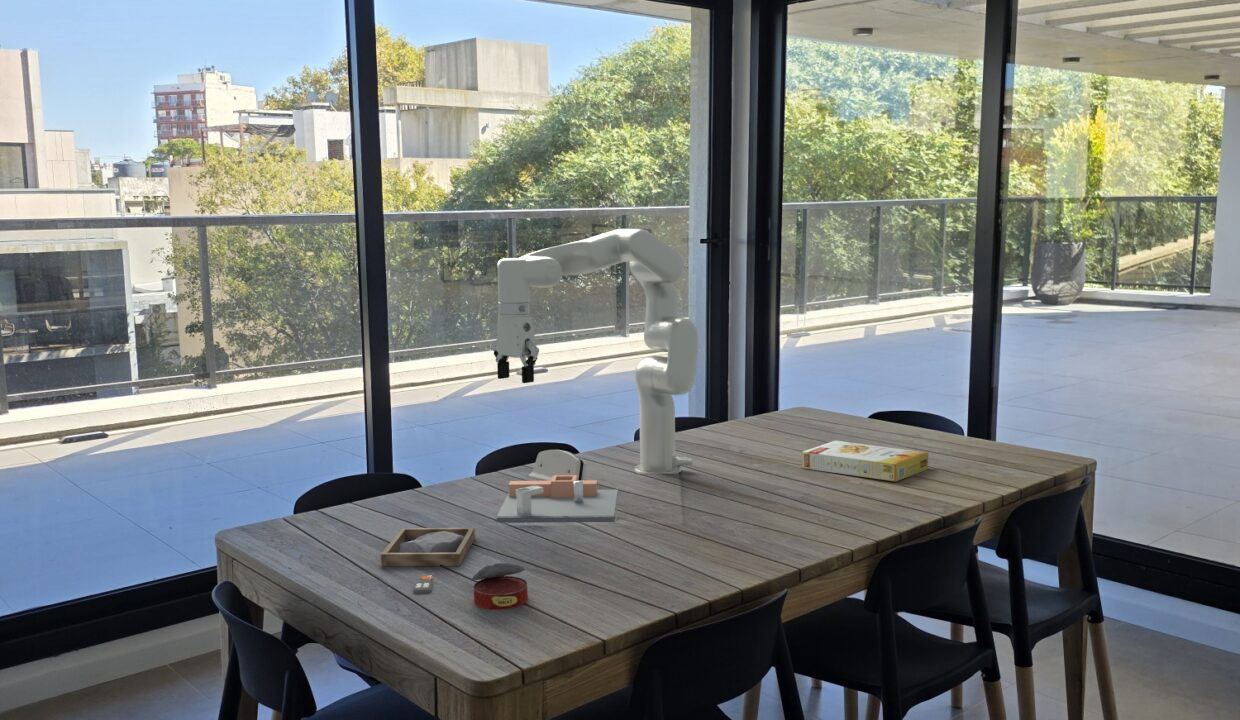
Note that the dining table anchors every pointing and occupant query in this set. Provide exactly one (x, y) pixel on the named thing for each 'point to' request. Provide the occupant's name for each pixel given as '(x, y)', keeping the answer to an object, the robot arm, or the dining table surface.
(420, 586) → the key chain
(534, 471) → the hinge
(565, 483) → the link
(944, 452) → the dining table surface
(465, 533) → the tray
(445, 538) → the stone block
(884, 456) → the cereal box
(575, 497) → the pin
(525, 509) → the bracket
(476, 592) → the canned food
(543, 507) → the board
